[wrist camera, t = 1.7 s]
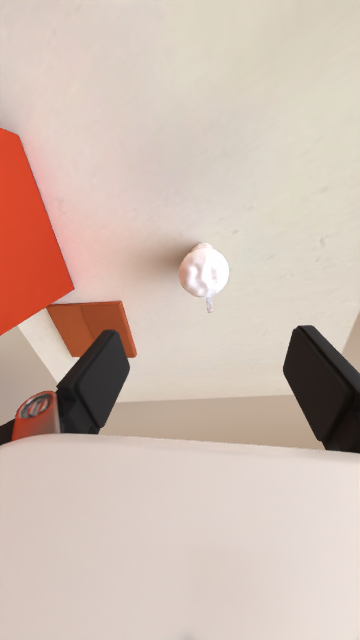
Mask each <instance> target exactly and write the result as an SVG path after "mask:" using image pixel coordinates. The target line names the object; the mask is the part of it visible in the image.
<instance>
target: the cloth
mask: <svg viewBox="0 0 360 640" xmlns="http://www.w3.org/2000/svg"><path fill="white" fill-rule="evenodd" d="M46 309H47V311H48V313H49V314H50V316H51V318H52V320H53V322H54V324H55V326H56V328H57V329H58V331H59V333H60V335H61V337H62V339H63V341H64V342H65V344H66V346H67V348H68V350H69V352H70V354H71V356H72V357H81V356H82V355H83V354H84V353H85V352H86V350H87V349H88V348H89V347H90V346H91V344H92V343H93V342H94V341H95V340H96V339H97V337H98V336H99V335H100V334H101V333H102V331H103V330H106V329H114V330H116V332H119V334H120V337H121V340H122V344H123V347H124V350H125V353H126V356H127V358H135V357H136V355H137V353H136V349H135V346H134V343H133V339H132V336H131V332H130V329H129V325H128V322H127V318H126V315H125V311H124V308H123V305H122V301H119V302H98V303H76V304H55V305H48V306H47V307H46Z"/></svg>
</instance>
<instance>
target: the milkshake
mask: <svg viewBox="0 0 360 640" xmlns="http://www.w3.org/2000/svg"><path fill="white" fill-rule="evenodd" d="M179 278H180V282H181V285H182V286H183V288H184V289H185V290H186V291H187V292H189V293H190V294H192V295H193V296H196V297H206V302H207V310H208V313H212V312H213V309H212V302H211V296H212V295H214V294H216V293H218V292H219V291H220V290H221V289H222V288H223V287H224V285H225V283H226V281H227V279H228V265H227V262H226V260H225V259H224V257H223V256H222V255H221V254H220V253H218V252H217V251H216V250H215V249H214V248H213V247H212V246H211V245H209V244H208V243H200V244H198V245H197V246H195V247H193V249H192V250H191V251H190V253H189V254H188V255H187V256H186V257H185V258H184V260H183V261H182V263H181V265H180V268H179Z"/></svg>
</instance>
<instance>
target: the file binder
mask: <svg viewBox="0 0 360 640" xmlns="http://www.w3.org/2000/svg"><path fill="white" fill-rule="evenodd" d="M72 290H74V287H73V284H72V281H71V278H70V276H69V273H68V270H67V267H66V265H65V262H64V259H63V256H62V254H61V251H60V248H59V245H58V243H57V240H56V237H55V234H54V232H53V229H52V226H51V223H50V221H49V218H48V215H47V212H46V210H45V207H44V204H43V201H42V199H41V196H40V193H39V190H38V188H37V185H36V182H35V179H34V177H33V174H32V171H31V168H30V166H29V163H28V160H27V157H26V155H25V152H24V149H23V146H22V144H21V141H20V138H19V136H18V135H16V134H14V133H12V132H9V131H7V130H4V129H2V128H0V336H1V335H2V334H4V333H5V332H7V331H8V330H10V329H12V328H13V327H15V326H16V325H18V324H20V323H21V322H23V321H24V320H26V319H28V318H29V317H31V316H32V315H34V314H36V313H37V312H39V311H40V310H42V309H44V308H45V307H47V306H48V305H50V304H52V303H53V302H55V301H56V300H58V299H60V298H61V297H63V296H64V295H66V294H68V293H69V292H71V291H72Z"/></svg>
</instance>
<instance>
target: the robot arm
mask: <svg viewBox="0 0 360 640" xmlns="http://www.w3.org/2000/svg"><path fill="white" fill-rule="evenodd" d="M129 370H130V366H129V362H128V359H127V356H126V353H125V350H124V347H123V344H122V340H121V337H120V334H119V332H116V330H114V329H106V330H103V331H102V333H101V334H100V335H99V336H98V337H97V339H96V340H95V341H94V342H93V343H92V344H91V346H90V347H89V348H88V349H87V350H86V352H85V353H84V354H83V355H82V356H81V358H80V359H79V360H78V361H77V362H76V363H75V365H74V366H73V367H72V368H71V369H70V371H69V372H68V373H67V374H66V375H65V377H64V378H63V379H62V380H61V381H60V382H59V384H58V385H57V386H56V387H57V388H58V390H57V391H56V392H53V391H43V392H41V393H38V394H36V395H34V396H32V397H30V398H29V399H28V400H26V401H25V402H24V403H23V404H22V405H21V406H20V408H19V409H18V410H17V413H16V415H15V419H13V420H11V421H9V422H7V423H6V424H4V425H2V426H0V640H360V373H358V371H357V370H356V369H355V368H354V367H353V366H352V365H351V364H350V363H349V362H348V361H347V360H346V359H345V358H344V357H343V356H342V355H341V354H340V353H339V352H338V351H337V350H336V349H335V348H334V347H333V346H332V345H331V344H330V343H329V342H328V341H327V340H326V339H325V338H324V337H323V336H322V335H321V333H320V332H319V331H318V330H317V329H316V328H315V327H314V326H311V325H306V326H298V327H297V328H296V329H294V330H293V332H292V336H291V340H290V343H289V347H288V351H287V355H286V358H285V362H284V366H283V373H284V375H285V377H286V379H287V381H288V383H289V385H290V387H291V389H292V391H293V393H294V395H295V397H296V399H297V401H298V403H299V405H300V407H301V409H302V411H303V413H304V415H305V417H306V419H307V421H308V423H309V425H310V427H311V429H312V431H313V433H314V435H315V436H316V438H317V440H318V441H322V443H323V445H324V447H325V449H326V450H316V449H304V448H291V447H277V446H276V447H275V446H262V445H249V444H234V443H220V442H204V441H191V440H176V439H161V438H145V437H128V436H113V435H112V436H111V435H98V433H99V431H100V428H102V427H104V425H105V423H106V421H107V419H108V417H109V415H110V412H111V410H112V408H113V406H114V404H115V402H116V399H117V397H118V395H119V393H120V391H121V389H122V386H123V384H124V382H125V380H126V378H127V375H128V373H129ZM327 450H328V451H327ZM338 451H340V452H338Z"/></svg>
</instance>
